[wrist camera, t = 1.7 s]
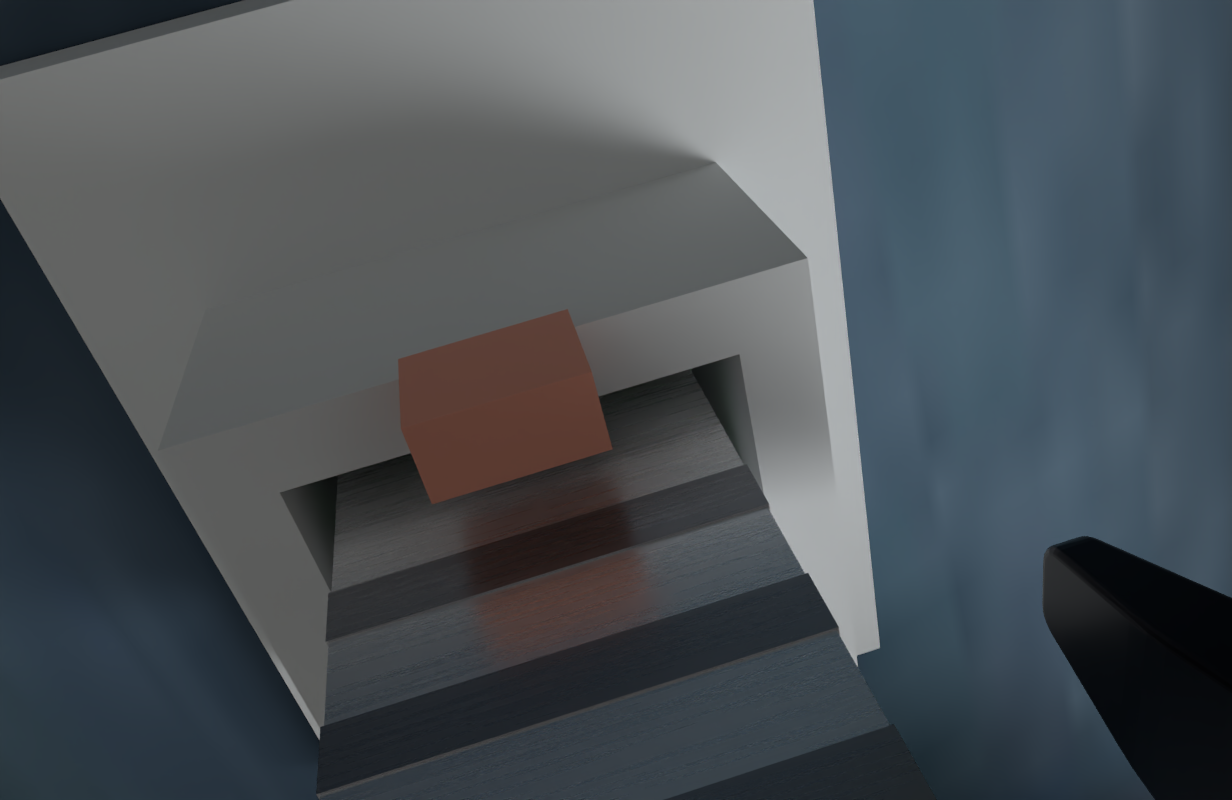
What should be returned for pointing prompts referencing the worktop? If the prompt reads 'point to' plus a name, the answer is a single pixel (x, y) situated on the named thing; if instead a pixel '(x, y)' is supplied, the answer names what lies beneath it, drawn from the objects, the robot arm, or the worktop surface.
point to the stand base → (444, 259)
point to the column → (593, 634)
